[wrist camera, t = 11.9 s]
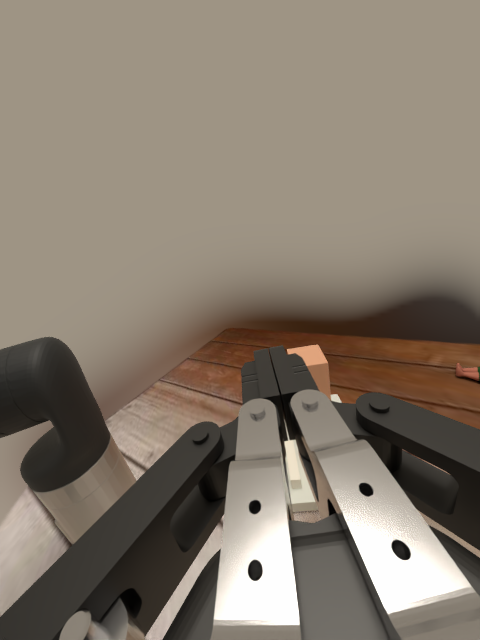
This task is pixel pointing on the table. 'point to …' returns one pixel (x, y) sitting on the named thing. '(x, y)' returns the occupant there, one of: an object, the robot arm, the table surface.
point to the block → (315, 366)
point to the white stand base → (300, 476)
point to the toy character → (468, 372)
